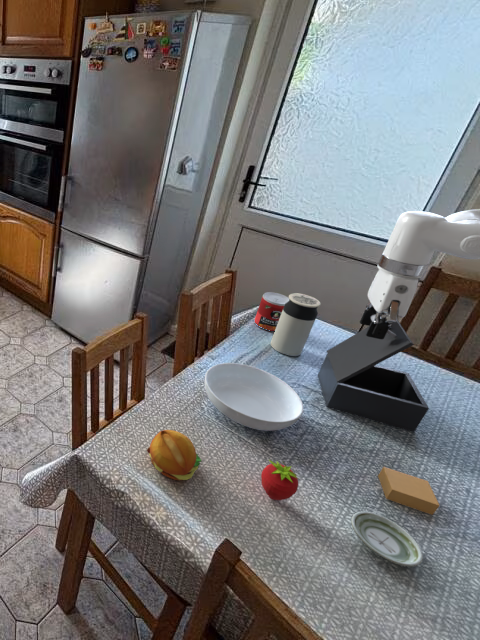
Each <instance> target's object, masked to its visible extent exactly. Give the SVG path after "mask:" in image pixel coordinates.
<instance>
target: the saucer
mask: <svg viewBox="0 0 480 640" xmlns="http://www.w3.org/2000/svg"><path fill="white" fill-rule="evenodd" d="M350 523H351V527H352V529H353V532H354V533H355V535H356V536H357V537H358V538H359V540H360V541H361V542H362V543H363V544H364V545H365V546H366V547H367V548H369V550H371V551H372V552H373V553H374V554H376V555H377V556H379V557H381V558H383V559H385V560H386V561H389V562H391V563H393V564H396V565H399V566H403V567H417V566H419V565H421V563H422V562H423V560H424V554H423V551H422V548H421V547H420V545H419V544H418V542H417V541H416V540H415V538H414V537H413V536H412V535H411V534H409V532H408V531H407V530H405V529H404V528H403V527H402V526H400V525H399V524H397V523H396V522H394V521H393V520H391V519H389V518H387V517H386V516H383V515H380V514H379V513H375V512H371V511H363V510H362V511H357V512H355V513H353V515H352V516H351V520H350Z"/></svg>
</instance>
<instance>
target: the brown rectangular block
mask: <svg viewBox="0 0 480 640" xmlns="http://www.w3.org/2000/svg"><path fill="white" fill-rule="evenodd" d="M377 478H378V481H379V483H380V486H381V488H382V491H383V494H384V497H385V499H386V500H387V501H388V500H389V501H391V502H393V503H397V504H399V505H401V506H405V507H408V508H411V509H413V510H417V511H419V512H423V513H425V514H428V515H431V516H433V515H434V514H435V513H436V512H437V510H438V509H439V507H440V503H439V501H438V499H437V497H436V495H435V492H434V490H433V488H432V486H431V485H430V482H429V481H428V480H426V479H422V478H419V477H417V476H413V475H411V474H408V473H405V472H401V471H399V470H395V469H392V468H389V467H386V466H383V467H382V468H381V470H380V472H379V473H378V474H377Z"/></svg>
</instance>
